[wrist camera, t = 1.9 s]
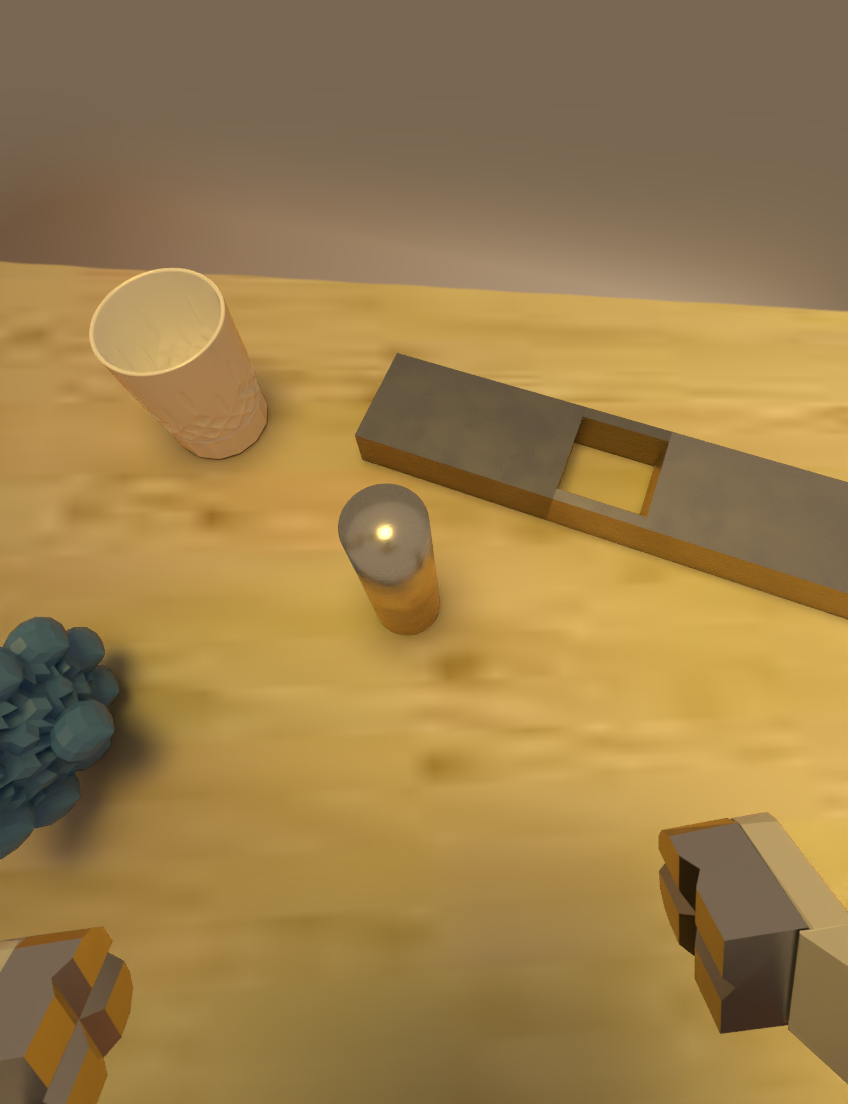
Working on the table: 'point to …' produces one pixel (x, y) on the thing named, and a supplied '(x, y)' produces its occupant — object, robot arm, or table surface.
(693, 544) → the grey slab
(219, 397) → the white cup
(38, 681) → the grapes
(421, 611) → the pin
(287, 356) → the table surface
